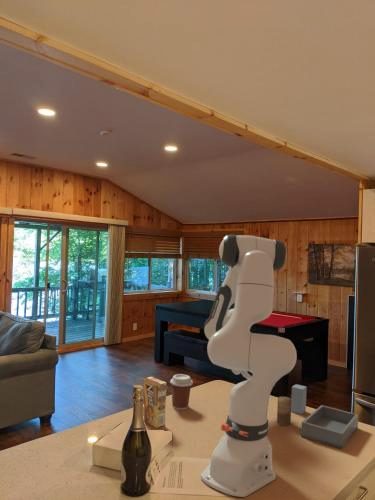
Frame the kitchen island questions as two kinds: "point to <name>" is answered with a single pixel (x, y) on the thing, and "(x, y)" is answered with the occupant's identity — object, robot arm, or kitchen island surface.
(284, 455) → the kitchen island surface
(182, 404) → the coffee cup
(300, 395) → the slate block
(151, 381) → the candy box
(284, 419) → the wooden cylinder
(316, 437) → the tote
